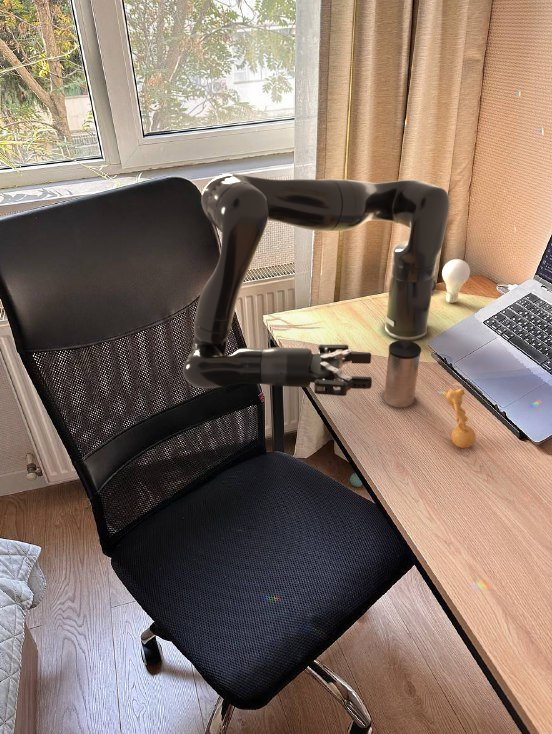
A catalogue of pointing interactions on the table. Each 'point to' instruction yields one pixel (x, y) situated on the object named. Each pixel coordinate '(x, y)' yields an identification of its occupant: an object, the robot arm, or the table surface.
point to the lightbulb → (455, 277)
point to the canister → (402, 373)
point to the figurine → (462, 433)
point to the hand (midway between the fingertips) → (371, 370)
